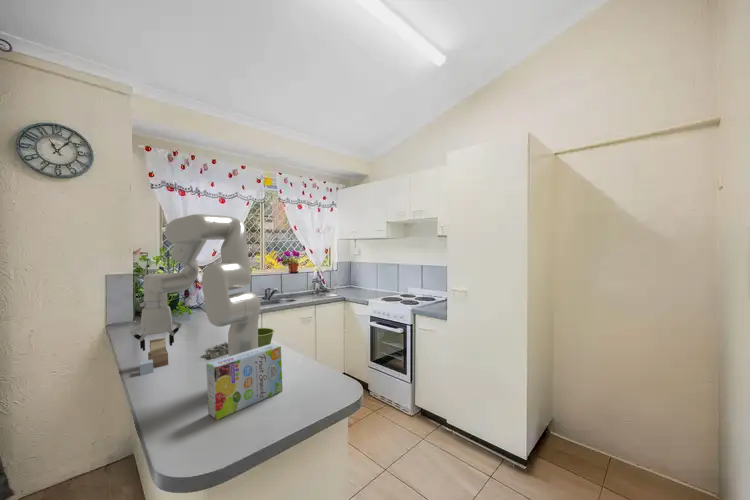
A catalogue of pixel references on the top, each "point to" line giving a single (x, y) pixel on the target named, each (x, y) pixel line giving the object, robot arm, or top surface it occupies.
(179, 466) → the top surface
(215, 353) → the egg carton
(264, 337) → the plant pot
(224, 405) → the snack box
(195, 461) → the top surface
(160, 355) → the walnut block
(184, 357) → the top surface
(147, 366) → the slate cube
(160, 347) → the maple cube
